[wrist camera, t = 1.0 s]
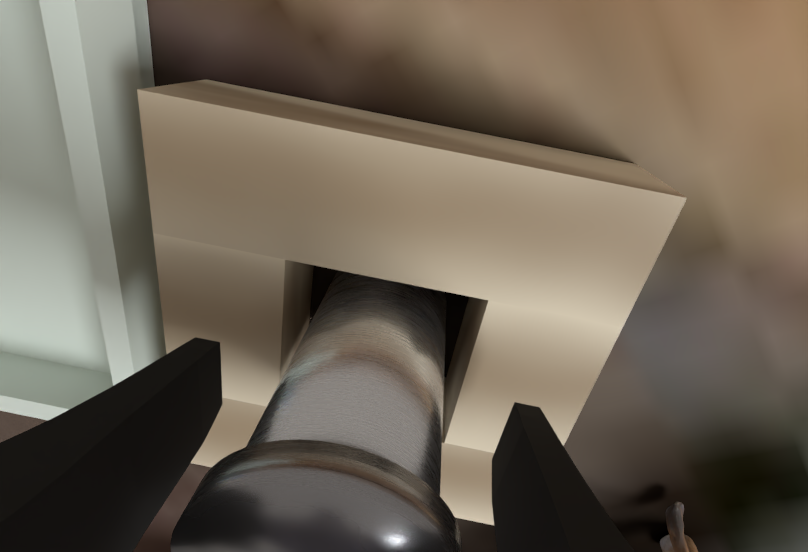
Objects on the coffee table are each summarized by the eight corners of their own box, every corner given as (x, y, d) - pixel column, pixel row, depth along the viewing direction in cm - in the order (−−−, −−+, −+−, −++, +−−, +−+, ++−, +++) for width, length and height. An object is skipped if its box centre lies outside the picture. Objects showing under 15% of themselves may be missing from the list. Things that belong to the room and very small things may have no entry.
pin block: (511, 458, 18) (520, 531, 15) (219, 398, 18) (178, 460, 15) (635, 164, 12) (686, 197, 9) (206, 79, 12) (136, 89, 10)
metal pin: (441, 371, 16) (429, 677, 8) (313, 345, 16) (180, 625, 8) (474, 254, 14) (498, 525, 6) (323, 224, 14) (156, 455, 6)
